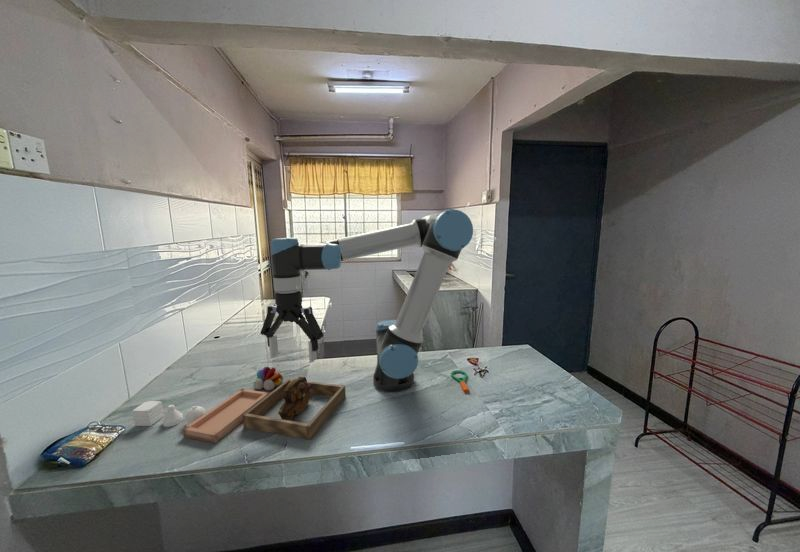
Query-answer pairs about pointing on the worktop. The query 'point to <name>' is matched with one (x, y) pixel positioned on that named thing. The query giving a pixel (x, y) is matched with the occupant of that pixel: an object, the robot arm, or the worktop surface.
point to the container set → (154, 412)
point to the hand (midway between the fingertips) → (293, 358)
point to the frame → (292, 428)
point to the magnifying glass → (461, 380)
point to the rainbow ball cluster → (267, 378)
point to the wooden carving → (295, 398)
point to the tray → (223, 416)
